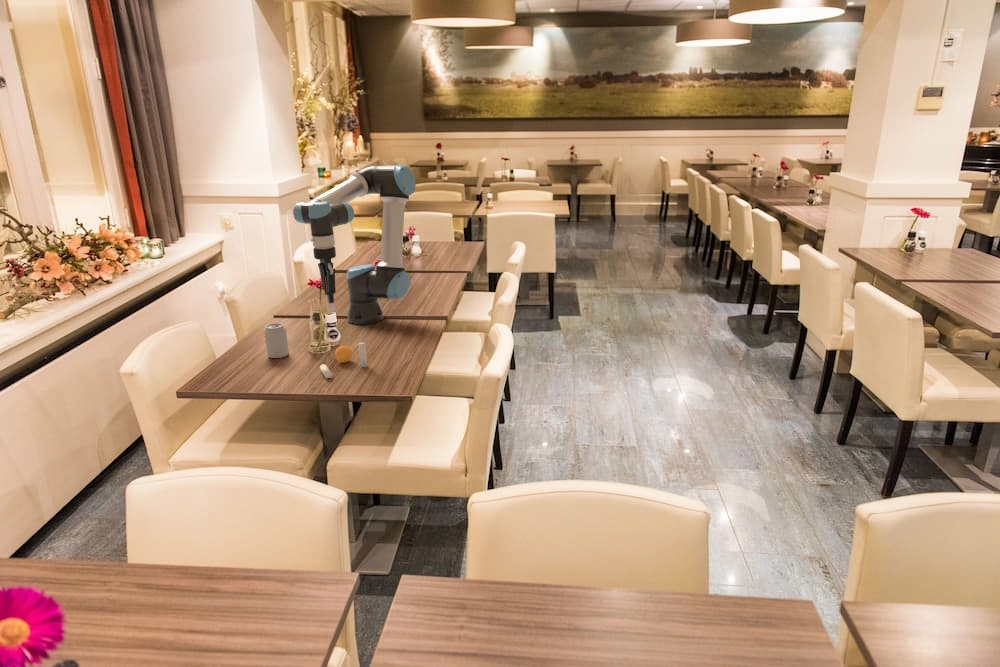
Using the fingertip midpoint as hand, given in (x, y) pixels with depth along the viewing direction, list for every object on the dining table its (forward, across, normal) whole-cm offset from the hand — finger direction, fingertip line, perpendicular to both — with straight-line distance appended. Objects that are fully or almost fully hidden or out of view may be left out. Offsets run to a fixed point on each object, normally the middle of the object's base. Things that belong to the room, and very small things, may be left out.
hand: (331, 310), depth 244 cm
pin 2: (+16, +19, +4) cm, 25 cm away
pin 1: (+15, +15, -9) cm, 23 cm away
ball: (+13, +11, 0) cm, 17 cm away
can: (+17, -9, -19) cm, 27 cm away
